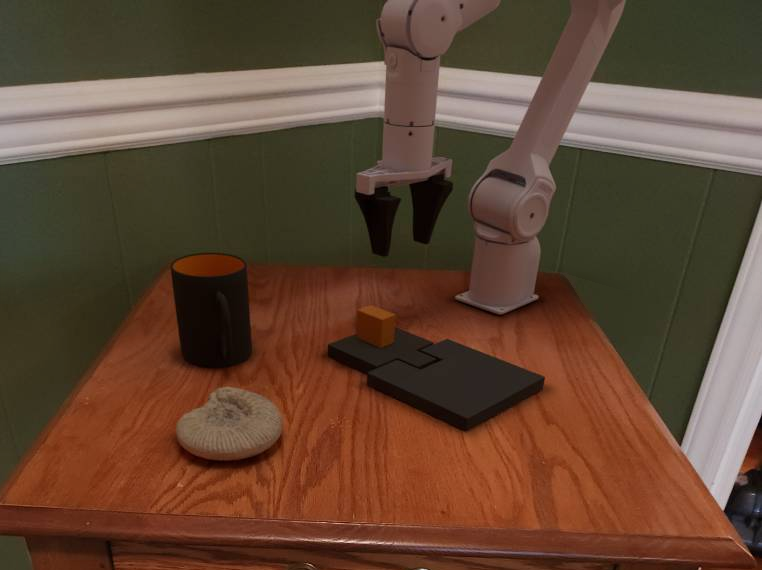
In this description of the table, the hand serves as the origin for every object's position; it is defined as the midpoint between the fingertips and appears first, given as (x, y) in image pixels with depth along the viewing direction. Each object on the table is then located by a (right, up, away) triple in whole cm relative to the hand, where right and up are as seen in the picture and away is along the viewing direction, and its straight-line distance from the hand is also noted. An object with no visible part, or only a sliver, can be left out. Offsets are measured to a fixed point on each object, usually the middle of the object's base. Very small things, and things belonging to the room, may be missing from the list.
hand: (401, 248), depth 90 cm
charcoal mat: (+5, -19, -8) cm, 21 cm away
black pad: (-2, -14, -3) cm, 15 cm away
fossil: (-18, -26, -18) cm, 36 cm away
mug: (-21, -15, -4) cm, 27 cm away
